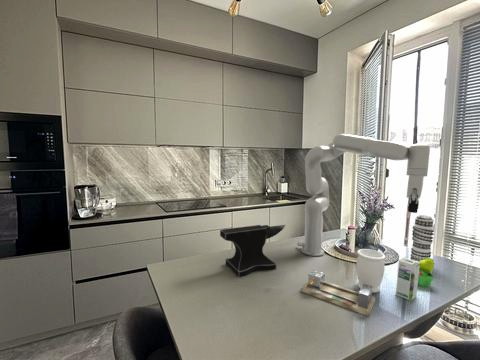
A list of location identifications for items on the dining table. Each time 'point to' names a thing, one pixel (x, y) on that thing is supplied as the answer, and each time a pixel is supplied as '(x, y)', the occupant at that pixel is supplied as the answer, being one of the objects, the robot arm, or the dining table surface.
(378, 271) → the jar
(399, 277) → the syrup box
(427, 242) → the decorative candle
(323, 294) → the gauge board
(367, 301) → the gauge hardware
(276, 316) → the dining table surface
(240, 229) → the anvil
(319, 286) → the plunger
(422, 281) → the fruit basket
